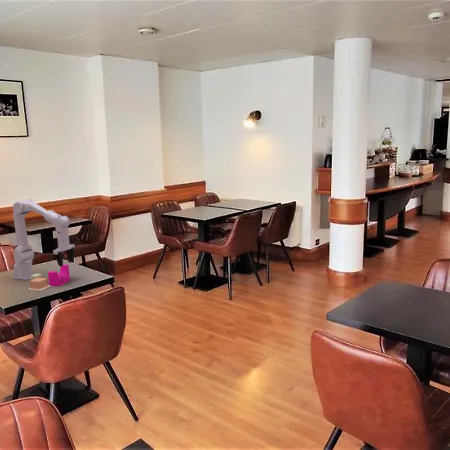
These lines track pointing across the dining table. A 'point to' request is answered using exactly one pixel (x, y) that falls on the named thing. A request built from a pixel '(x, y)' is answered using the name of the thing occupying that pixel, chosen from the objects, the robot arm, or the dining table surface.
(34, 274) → the sage brick
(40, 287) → the terracotta brick
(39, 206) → the robot arm
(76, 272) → the dining table surface
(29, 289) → the baseplate
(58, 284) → the toy block
